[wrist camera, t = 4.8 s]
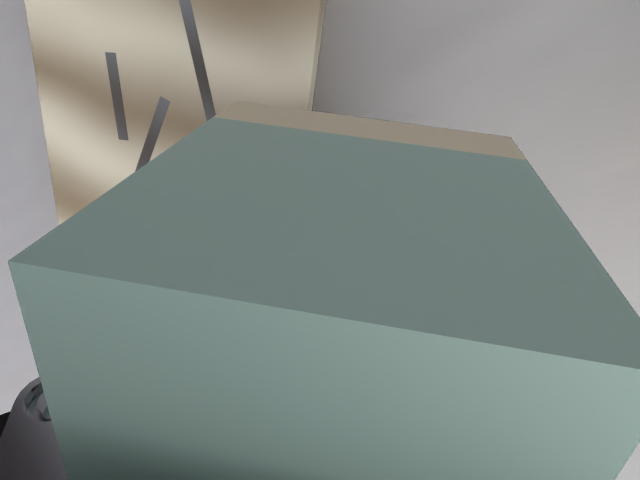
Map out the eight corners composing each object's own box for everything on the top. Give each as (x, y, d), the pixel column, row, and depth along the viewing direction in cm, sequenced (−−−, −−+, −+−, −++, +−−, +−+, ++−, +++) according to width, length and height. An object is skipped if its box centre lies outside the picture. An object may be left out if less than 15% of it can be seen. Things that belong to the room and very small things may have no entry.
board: (23, -180, 19) (-6, -193, 17) (343, -136, 18) (338, -146, 17) (79, 248, 28) (64, 261, 27) (289, 291, 28) (283, 306, 26)
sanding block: (236, 100, 10) (8, 261, 4) (510, 137, 10) (681, 375, 4) (234, 410, 15) (125, 688, 9) (418, 445, 15) (429, 765, 9)
